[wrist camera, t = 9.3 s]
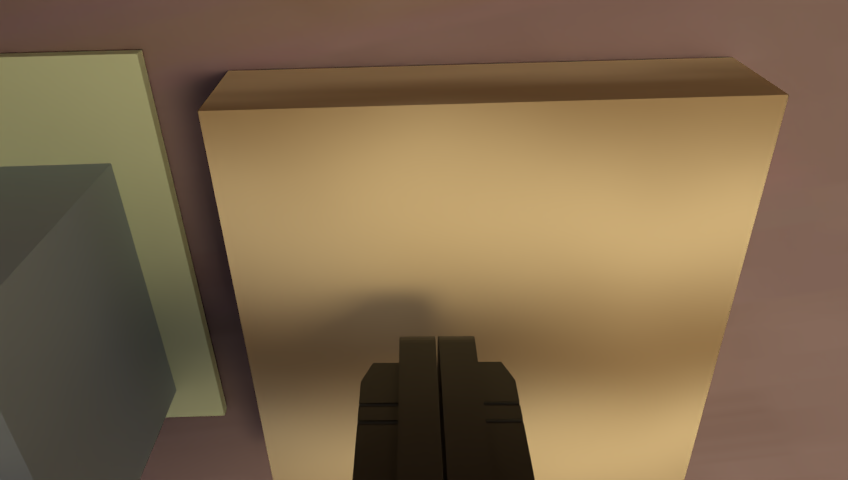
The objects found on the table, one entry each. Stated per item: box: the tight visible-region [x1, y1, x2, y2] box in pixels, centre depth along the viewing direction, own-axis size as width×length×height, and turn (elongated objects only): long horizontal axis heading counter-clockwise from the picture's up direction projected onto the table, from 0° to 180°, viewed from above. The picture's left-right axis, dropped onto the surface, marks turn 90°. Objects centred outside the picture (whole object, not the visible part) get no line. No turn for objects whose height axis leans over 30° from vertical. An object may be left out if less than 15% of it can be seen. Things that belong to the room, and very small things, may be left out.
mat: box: [0, 50, 227, 417], centre depth 17 cm, size 10×8×1 cm
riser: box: [198, 57, 789, 480], centre depth 16 cm, size 11×11×2 cm
